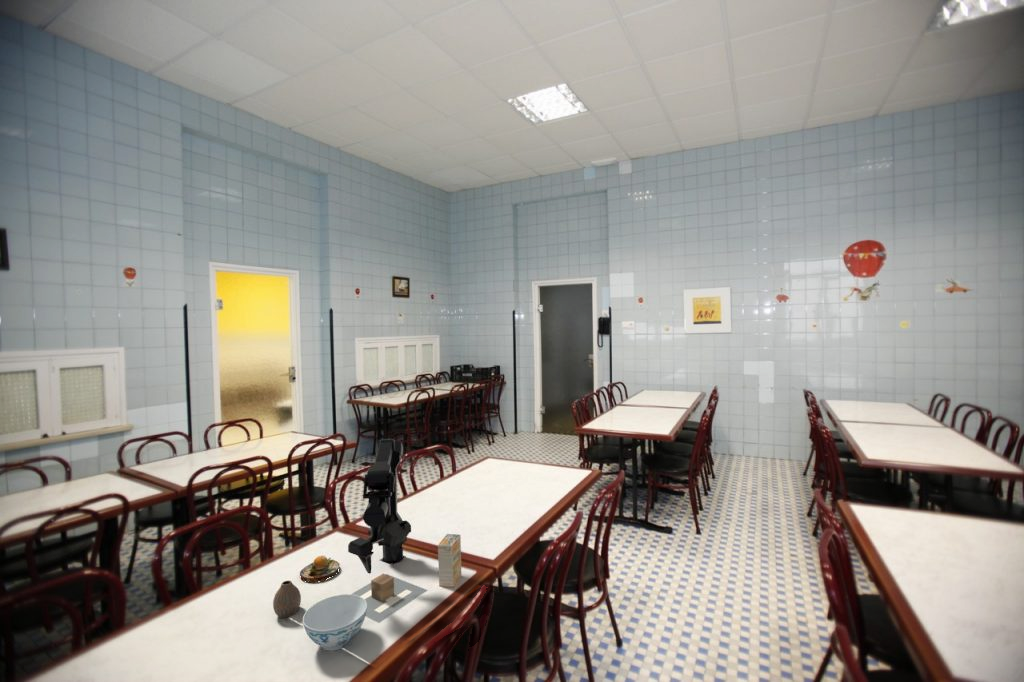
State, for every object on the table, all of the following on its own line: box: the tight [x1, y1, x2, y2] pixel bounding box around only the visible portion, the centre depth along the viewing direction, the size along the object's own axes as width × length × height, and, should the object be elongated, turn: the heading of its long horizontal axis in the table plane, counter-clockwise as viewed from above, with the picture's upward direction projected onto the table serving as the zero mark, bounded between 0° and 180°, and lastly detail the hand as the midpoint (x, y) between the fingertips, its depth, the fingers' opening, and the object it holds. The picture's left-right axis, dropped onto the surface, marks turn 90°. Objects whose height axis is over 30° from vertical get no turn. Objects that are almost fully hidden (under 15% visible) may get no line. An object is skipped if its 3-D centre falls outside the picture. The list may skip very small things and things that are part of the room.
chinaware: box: [302, 593, 367, 652], centre depth 116 cm, size 15×15×8 cm
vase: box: [272, 580, 302, 619], centre depth 128 cm, size 7×7×9 cm
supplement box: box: [437, 533, 462, 588], centre depth 143 cm, size 8×5×13 cm, turn 168°
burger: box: [299, 555, 340, 583], centre depth 150 cm, size 12×12×8 cm
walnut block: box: [370, 572, 395, 602], centre depth 135 cm, size 4×4×5 cm
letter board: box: [351, 573, 428, 624], centre depth 135 cm, size 18×18×1 cm
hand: (382, 565), depth 135 cm, fingers open, 9 cm apart
